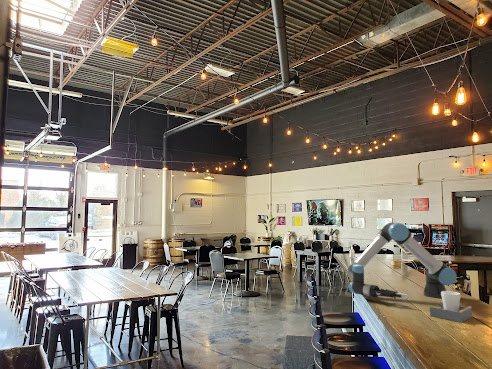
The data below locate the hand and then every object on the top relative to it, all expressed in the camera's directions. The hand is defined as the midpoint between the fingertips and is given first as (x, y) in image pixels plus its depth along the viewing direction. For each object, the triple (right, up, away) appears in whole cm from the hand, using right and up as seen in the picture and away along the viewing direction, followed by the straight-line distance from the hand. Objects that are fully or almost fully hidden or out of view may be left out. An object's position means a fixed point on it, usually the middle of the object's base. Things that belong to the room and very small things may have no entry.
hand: (406, 296), depth 222 cm
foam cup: (+17, -5, -18) cm, 26 cm away
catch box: (+16, -5, -19) cm, 26 cm away
